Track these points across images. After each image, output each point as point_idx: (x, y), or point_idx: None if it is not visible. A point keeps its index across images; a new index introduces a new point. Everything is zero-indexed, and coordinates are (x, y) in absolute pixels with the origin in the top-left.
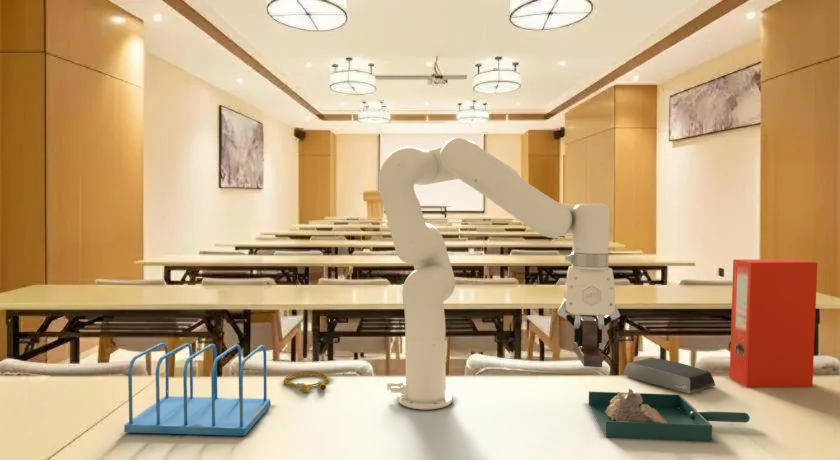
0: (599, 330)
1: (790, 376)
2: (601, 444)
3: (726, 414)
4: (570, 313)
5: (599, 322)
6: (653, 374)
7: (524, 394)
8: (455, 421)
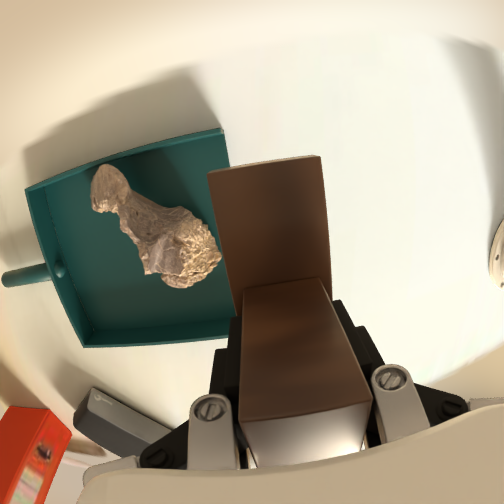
0: (225, 383)
1: (16, 414)
2: (234, 88)
3: (19, 274)
4: (493, 405)
5: (223, 432)
6: (145, 431)
7: (379, 334)
8: (487, 164)
